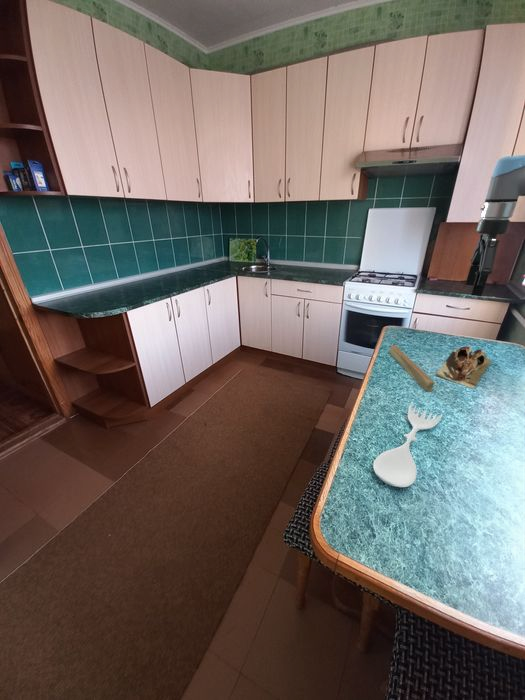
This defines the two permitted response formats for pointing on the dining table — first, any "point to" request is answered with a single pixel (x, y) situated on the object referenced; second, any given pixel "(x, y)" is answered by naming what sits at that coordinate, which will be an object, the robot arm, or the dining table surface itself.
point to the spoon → (403, 453)
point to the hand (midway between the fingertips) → (472, 290)
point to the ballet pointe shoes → (465, 366)
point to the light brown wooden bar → (412, 368)
